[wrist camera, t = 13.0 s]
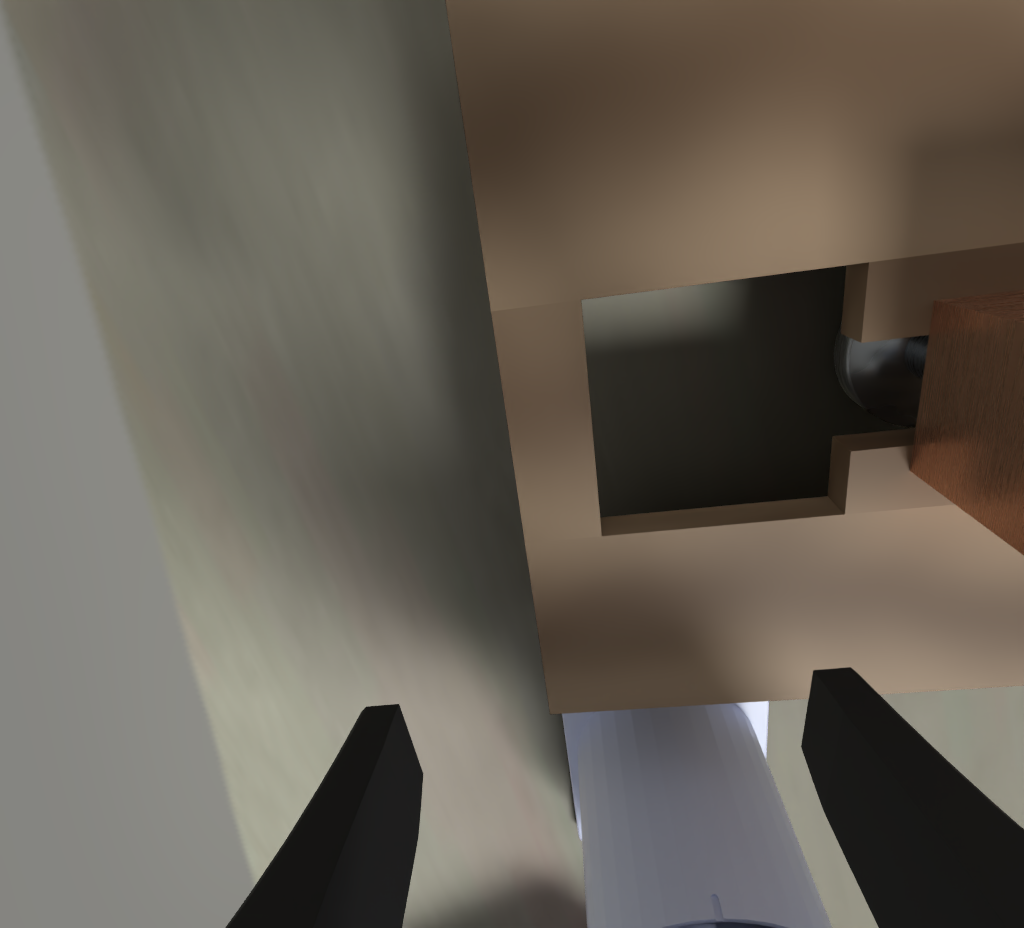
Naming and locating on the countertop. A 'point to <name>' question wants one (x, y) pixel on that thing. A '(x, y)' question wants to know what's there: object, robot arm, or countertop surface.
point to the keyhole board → (730, 256)
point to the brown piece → (955, 402)
